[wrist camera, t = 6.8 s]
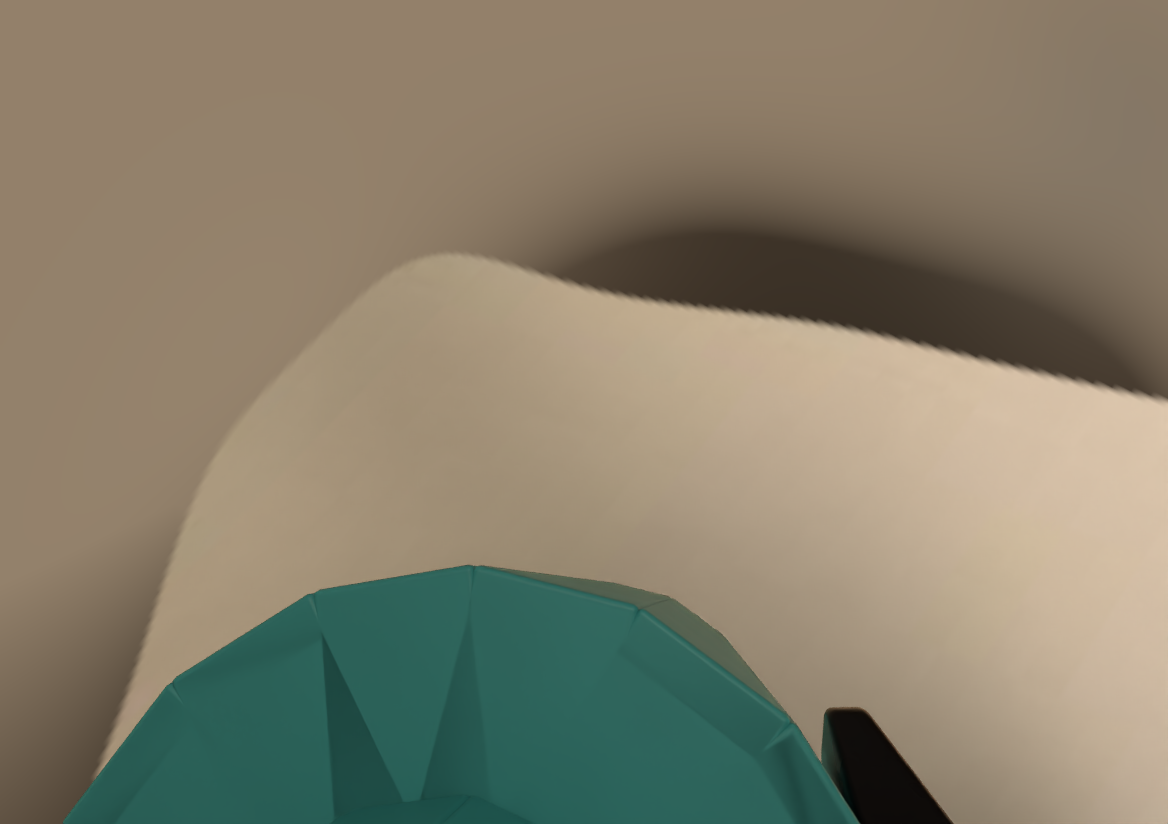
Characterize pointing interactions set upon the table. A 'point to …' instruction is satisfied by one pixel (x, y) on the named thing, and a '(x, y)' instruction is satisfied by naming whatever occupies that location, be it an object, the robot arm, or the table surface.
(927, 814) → the robot arm
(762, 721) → the detergent bottle
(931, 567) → the table surface
